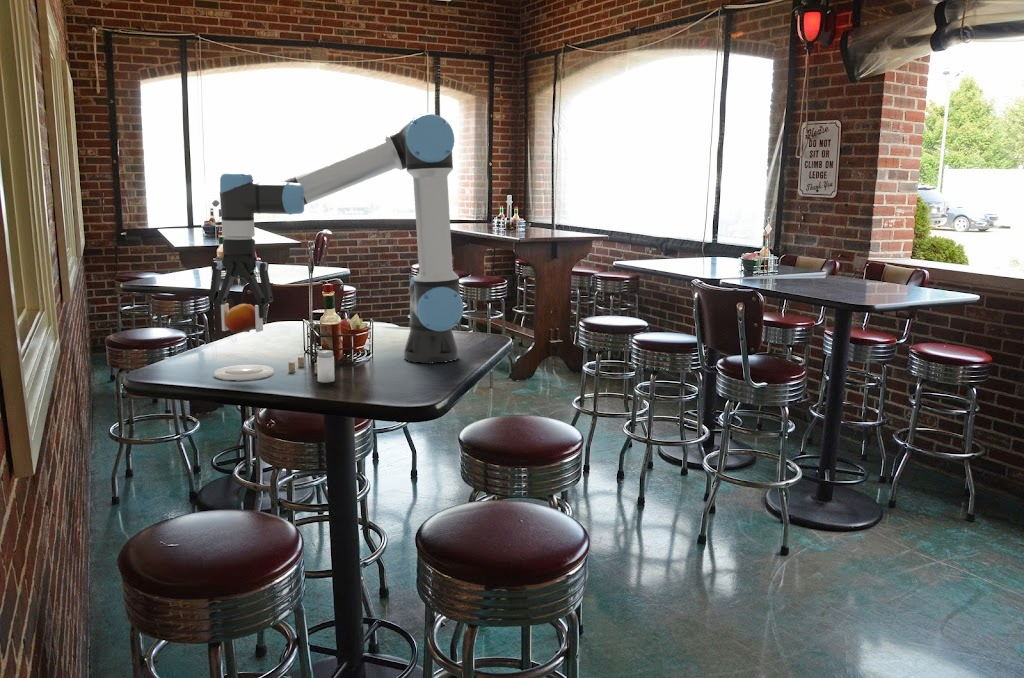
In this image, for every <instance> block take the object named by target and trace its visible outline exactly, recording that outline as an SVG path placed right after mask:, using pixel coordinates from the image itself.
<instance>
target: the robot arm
mask: <svg viewBox="0 0 1024 678" xmlns="http://www.w3.org/2000/svg"><path fill="white" fill-rule="evenodd" d="M454 146H455V135H454V130H453V128H452V126H451V124H450V123H449V122H448V121H447V120H446V119H445V118H443V117H442V116H440V115H437V114H433V113H423V114H422V113H421V114H419V115H417V116H415V117H414V118H412V119H411V120H410V122H408V123H407V124H405V126H403V127H401V128H400V129H399V130H396V131H394V132H392V133H389V134H387V135H386V136H385V139H384V140H382V141H380V142H377V143H375V144H373V145H370V146H368V147H366V148H363V149H361V150H358V151H355V152H353V153H351V154H347V155H345V156H342V157H340V158H338V159H335V160H333V161H331V162H328V163H325V164H322V165H320V166H318V167H316V168H313V169H311V170H308V171H305V172H302V173H301V174H298V175H296V176H294V177H290V178H288V179H286V180H283V181H280V182H257V181H254V179H253V175H252V174H250V173H233V172H232V173H230V172H229V173H222V174H221V176H220V178H219V179H220V180H219V181H220V182H219V187H220V188H219V196H220V197H219V198H220V199H219V202H220V216H221V237H224V238H223V240H222V253H223V257H222V260H214V261H211V263H210V267H211V280H210V281H211V282H210V290H209V299H208V300H209V301H210V302H213V303H216V305H217V316H218V317H219V318H221V331H222V332H226V331H230V329H228V328H227V327H226V324H225V318H226V315H227V313H228V311H229V310H230V307H229V305H230V304H229V303H227V300H228V299H227V298H228V295H229V294H230V291H231V288H232V285H233V283H234V280H235V279H236V277H241V278H243V277H244V278H245V280H246V281H247V283H248V285H249V288H250V290H251V292H252V294H253V296H254V299H255V300H256V303H257V304H255V305H254V307H255V323H256V329H255V333H260V332H262V331H264V319H265V318H266V316H267V308H266V306H267V305H268V304H269V303H271V302H273V301H274V297H273V296H274V295H273V291H272V287H271V282H270V276H269V265H270V264H269V262H268V261H265V262H263V261H258V260H257V257H256V240H255V239H254V237H255V236H256V235H255V232H256V231H255V214H268V215H269V214H273V215H274V214H275V215H297V214H298V215H299V214H303V213H304V212H305V205H307V204H310V203H313V202H315V201H317V200H321V199H322V198H325V197H328V196H331V195H332V194H335V193H337V192H340V191H343V190H344V189H347V188H351V187H353V186H355V185H357V184H360V183H363V182H365V181H367V180H369V179H372V178H375V177H377V176H379V175H382V174H385V173H387V172H389V171H392V170H394V169H397V170H400V171H403V170H405V169H406V172H407V173H408V174H409V175H411V177H412V178H413V192H414V193H413V194H414V195H413V196H414V209H415V210H414V211H415V225H416V242H417V257H418V260H417V261H418V273H417V275H415V276H413V277H411V278H410V281H409V287H408V288H409V325H410V327H409V335H408V336H407V337H408V338H407V340H406V343H405V346H404V349H403V359H404V360H405V359H406V360H405V361H407V360H408V361H407V362H411V361H412V362H411V363H416V362H421V363H420V364H437V363H436V362H445V361H450V360H454V359H456V358H458V359H459V349H458V346H457V345H458V344H457V342H456V338H455V336H454V333H453V328H454V327H456V325H457V324H459V322H460V320H461V319H462V317H463V314H464V303H463V299H462V297H461V292H460V276H459V275H458V274H457V273H456V272H455V271H454V270H453V256H452V255H453V254H452V253H453V252H452V237H451V235H452V234H451V219H450V218H451V217H450V215H451V214H450V202H449V201H450V200H449V198H450V197H449V184H448V182H449V180H448V176H449V174H450V173H451V172H452V171H453V170H454V167H453V166H454V164H453V149H454ZM223 267H224V268H225V269H226V272H225V275H224V281H223V283H222V285H221V280H222V279H221V278H222V270H223ZM256 267H257V270H258V272H259V273H258V274H259V280H260V284H261V286H260V284H259V282H258V280H257V276H256V274H255V271H254V270H255V269H256ZM220 285H221V286H220ZM220 287H221V289H220ZM430 362H431V363H430ZM432 362H433V363H432ZM445 363H446V362H445Z"/></svg>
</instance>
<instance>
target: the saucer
mask: <svg viewBox="0 0 1024 678" xmlns="http://www.w3.org/2000/svg"><path fill="white" fill-rule="evenodd" d="M273 375H274V368H273V367H271V366H269V365H263V364H262V365H261V364H236V365H230V366H224V367H220V368H217V369H215V370H214V378H215V377H216V378H215V379H217V378H218V380H221V379H222V381H229V380H236V381H235V382H243V381H254V380H255V381H256V380H260V379H265V378H270V377H271V376H273Z"/></svg>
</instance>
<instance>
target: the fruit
mask: <svg viewBox="0 0 1024 678" xmlns="http://www.w3.org/2000/svg"><path fill="white" fill-rule="evenodd" d="M225 324H226V327H227V328H228V329H229V331H230V332H232V333H236V334H239V333H240V334H241V333H250V332H251V331H253V330H256V323H255V305H253V304H251V303H249V304H248V303H239V304H238V305H234V306H233V307H231V308H229V311H228V313H227V315H226V318H225Z"/></svg>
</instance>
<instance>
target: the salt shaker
mask: <svg viewBox="0 0 1024 678" xmlns="http://www.w3.org/2000/svg"><path fill="white" fill-rule="evenodd" d="M316 363H317V372H318V374H317V382H319V383H332V382H334V381H335V356H334V351H333V350H327V349H325V350H318V351H317V357H316Z"/></svg>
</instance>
